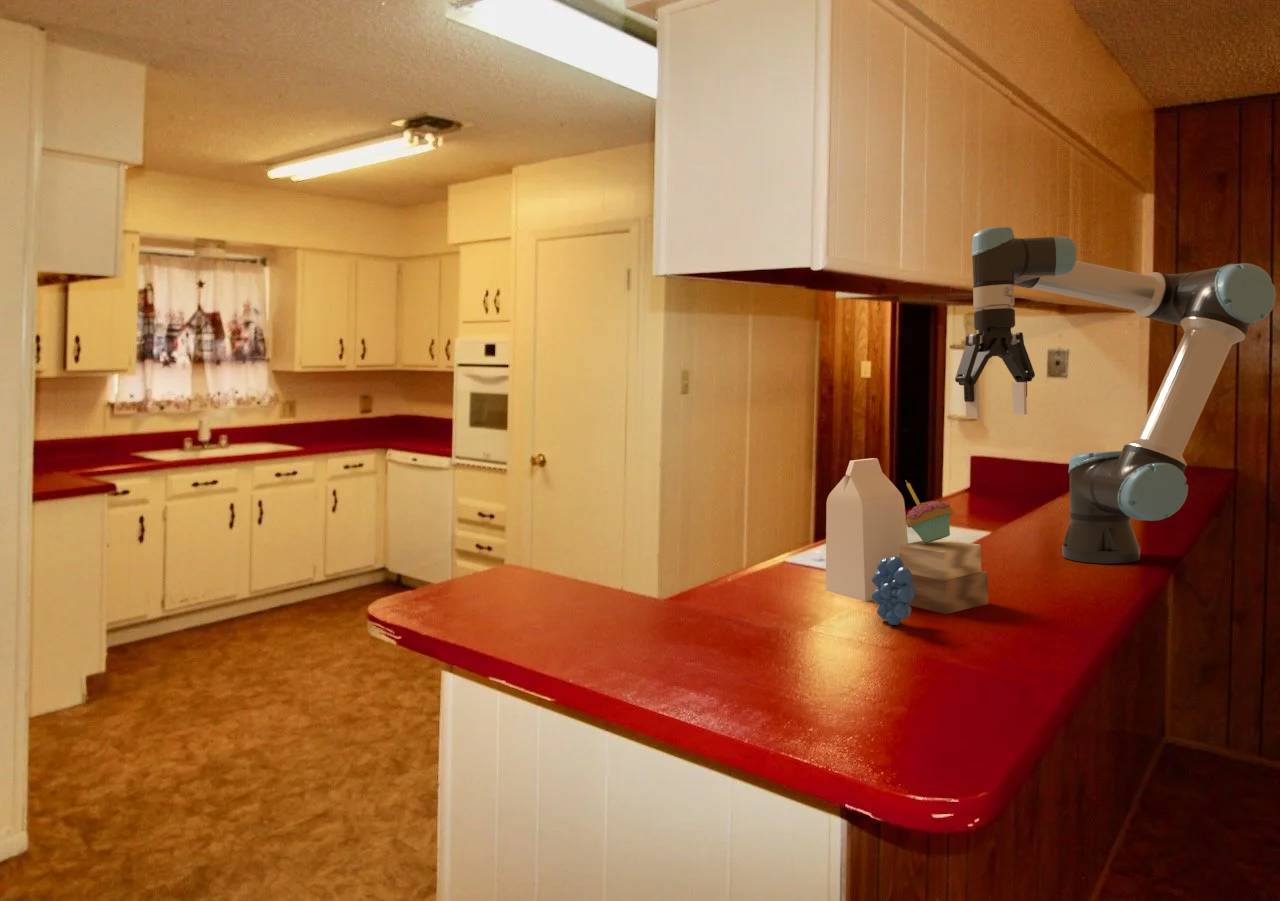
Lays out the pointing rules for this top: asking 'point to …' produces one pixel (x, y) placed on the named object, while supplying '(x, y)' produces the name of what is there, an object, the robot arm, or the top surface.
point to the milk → (862, 528)
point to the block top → (941, 558)
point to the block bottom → (950, 593)
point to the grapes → (893, 590)
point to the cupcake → (929, 518)
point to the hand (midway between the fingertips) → (996, 416)
